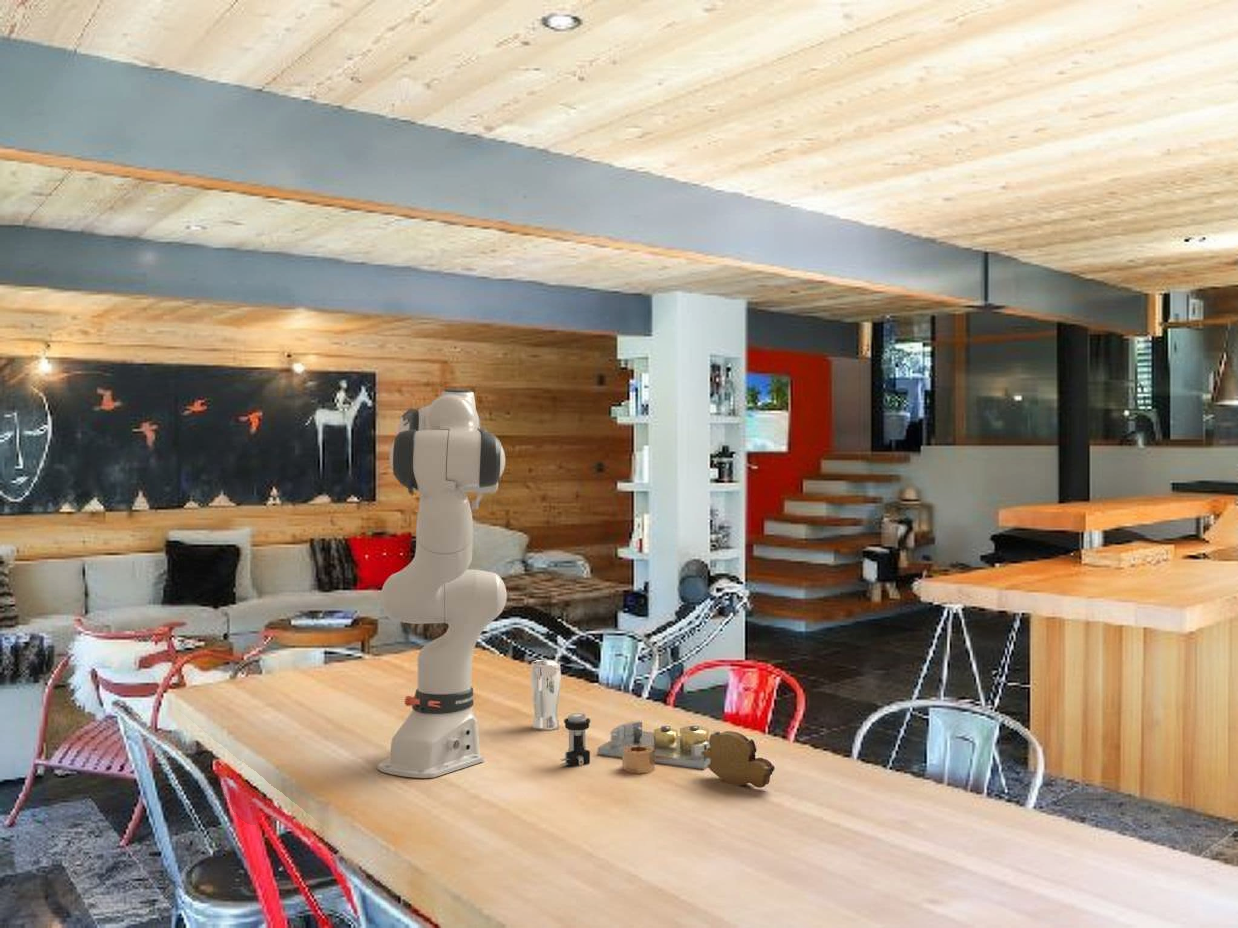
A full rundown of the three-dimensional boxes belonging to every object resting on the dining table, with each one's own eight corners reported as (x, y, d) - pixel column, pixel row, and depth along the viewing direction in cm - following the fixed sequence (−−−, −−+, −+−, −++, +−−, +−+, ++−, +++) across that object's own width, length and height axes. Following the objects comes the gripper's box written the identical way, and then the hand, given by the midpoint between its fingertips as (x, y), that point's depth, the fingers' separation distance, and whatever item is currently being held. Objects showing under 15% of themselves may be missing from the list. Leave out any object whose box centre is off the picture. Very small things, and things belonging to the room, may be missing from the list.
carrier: (704, 769, 221) (704, 739, 221) (598, 754, 232) (598, 725, 232) (732, 749, 235) (732, 721, 235) (630, 736, 246) (630, 708, 246)
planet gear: (645, 774, 217) (645, 754, 217) (618, 770, 220) (618, 750, 220) (658, 766, 223) (658, 747, 223) (631, 762, 225) (631, 743, 225)
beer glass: (563, 723, 257) (563, 659, 257) (558, 731, 250) (558, 665, 250) (533, 722, 258) (533, 659, 258) (528, 730, 251) (528, 665, 251)
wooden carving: (780, 789, 209) (780, 736, 208) (766, 795, 205) (766, 741, 205) (709, 772, 219) (709, 722, 219) (695, 777, 216) (695, 726, 216)
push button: (568, 770, 220) (568, 720, 220) (553, 764, 225) (553, 715, 224) (595, 764, 224) (595, 715, 224) (580, 758, 229) (580, 710, 228)
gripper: (411, 456, 260) (410, 510, 264) (498, 459, 261) (496, 513, 266) (414, 447, 265) (413, 501, 270) (499, 451, 267) (497, 504, 272)
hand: (455, 507), depth 268 cm, fingers open, 8 cm apart
